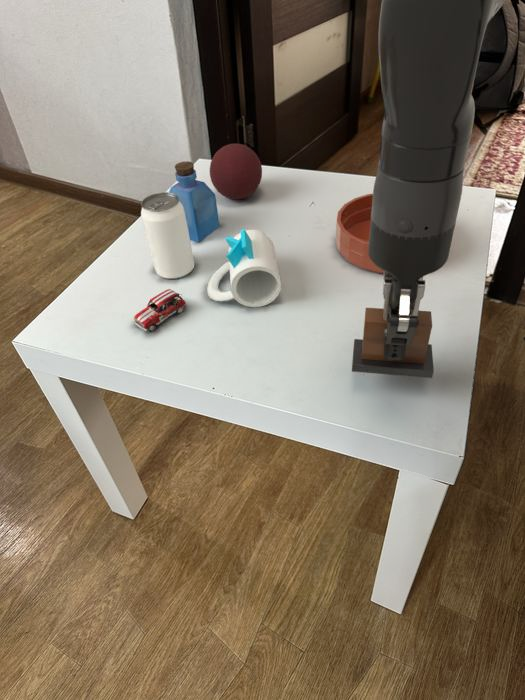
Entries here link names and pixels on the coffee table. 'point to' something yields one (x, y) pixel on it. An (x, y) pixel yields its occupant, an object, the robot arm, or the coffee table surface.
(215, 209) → the perfume bottle
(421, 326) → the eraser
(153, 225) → the can
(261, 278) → the mug
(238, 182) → the decorative ball
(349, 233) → the bowl
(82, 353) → the coffee table surface
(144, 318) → the toy car
